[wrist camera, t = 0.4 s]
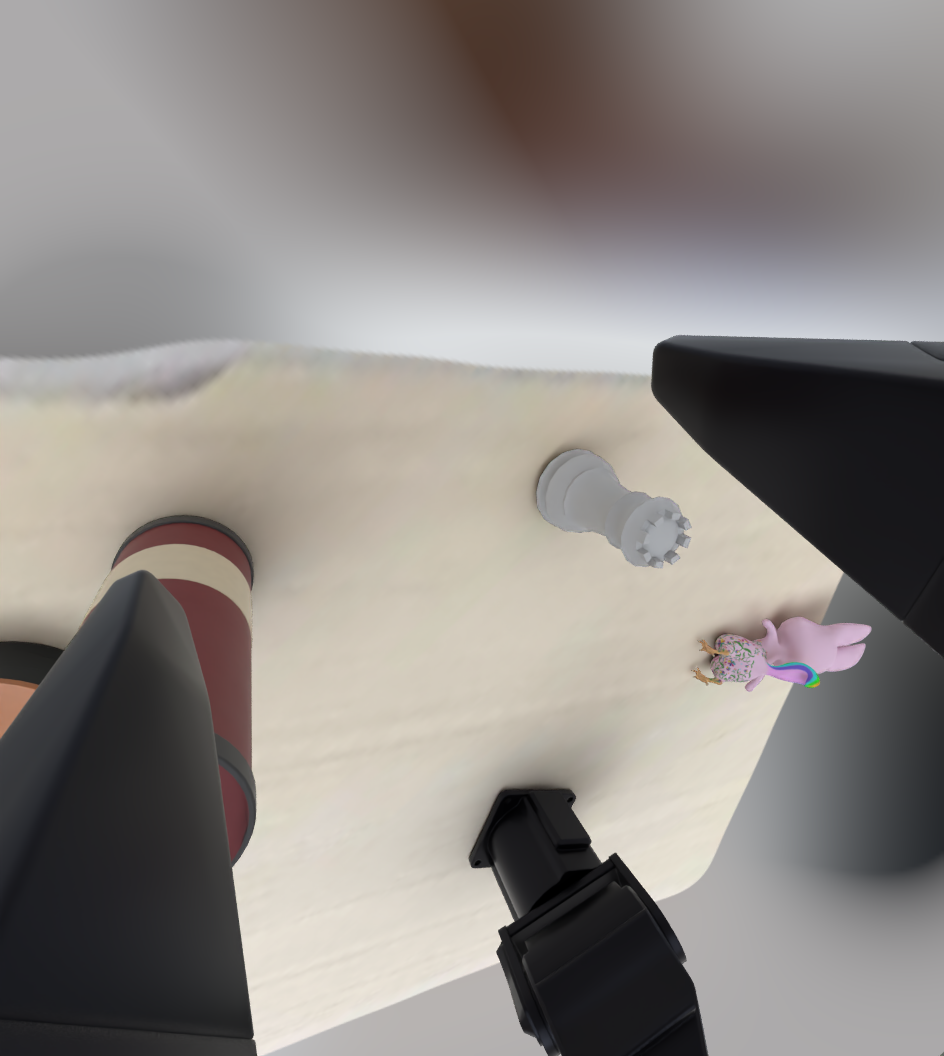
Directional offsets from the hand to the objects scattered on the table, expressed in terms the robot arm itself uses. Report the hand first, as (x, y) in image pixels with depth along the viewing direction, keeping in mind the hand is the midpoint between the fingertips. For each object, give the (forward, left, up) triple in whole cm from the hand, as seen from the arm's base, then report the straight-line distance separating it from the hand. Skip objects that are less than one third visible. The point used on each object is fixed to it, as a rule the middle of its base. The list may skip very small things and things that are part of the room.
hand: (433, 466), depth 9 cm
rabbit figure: (-7, -37, -16) cm, 41 cm away
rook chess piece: (-1, -14, -16) cm, 21 cm away
